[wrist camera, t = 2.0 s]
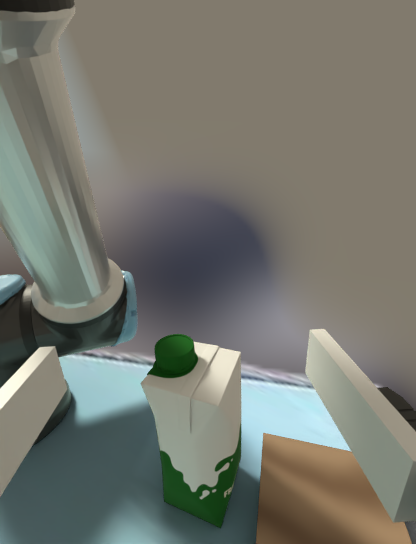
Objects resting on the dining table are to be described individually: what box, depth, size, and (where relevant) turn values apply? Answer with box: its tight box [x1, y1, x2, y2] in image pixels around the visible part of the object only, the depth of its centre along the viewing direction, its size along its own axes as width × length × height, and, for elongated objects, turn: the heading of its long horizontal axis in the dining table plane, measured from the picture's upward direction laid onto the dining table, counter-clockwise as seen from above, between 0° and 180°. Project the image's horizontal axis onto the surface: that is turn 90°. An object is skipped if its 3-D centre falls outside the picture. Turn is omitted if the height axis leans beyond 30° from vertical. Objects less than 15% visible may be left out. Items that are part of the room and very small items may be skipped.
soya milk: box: [141, 334, 241, 528], centre depth 28 cm, size 9×9×20 cm
